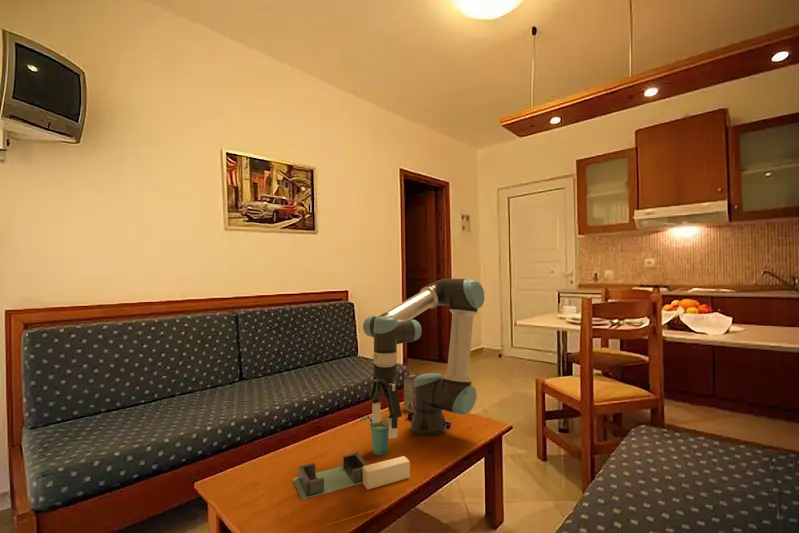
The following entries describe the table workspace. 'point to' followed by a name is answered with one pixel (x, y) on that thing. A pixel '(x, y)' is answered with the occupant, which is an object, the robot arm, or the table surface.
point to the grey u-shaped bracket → (354, 467)
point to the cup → (379, 434)
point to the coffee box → (409, 392)
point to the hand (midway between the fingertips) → (384, 429)
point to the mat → (328, 481)
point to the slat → (386, 472)
